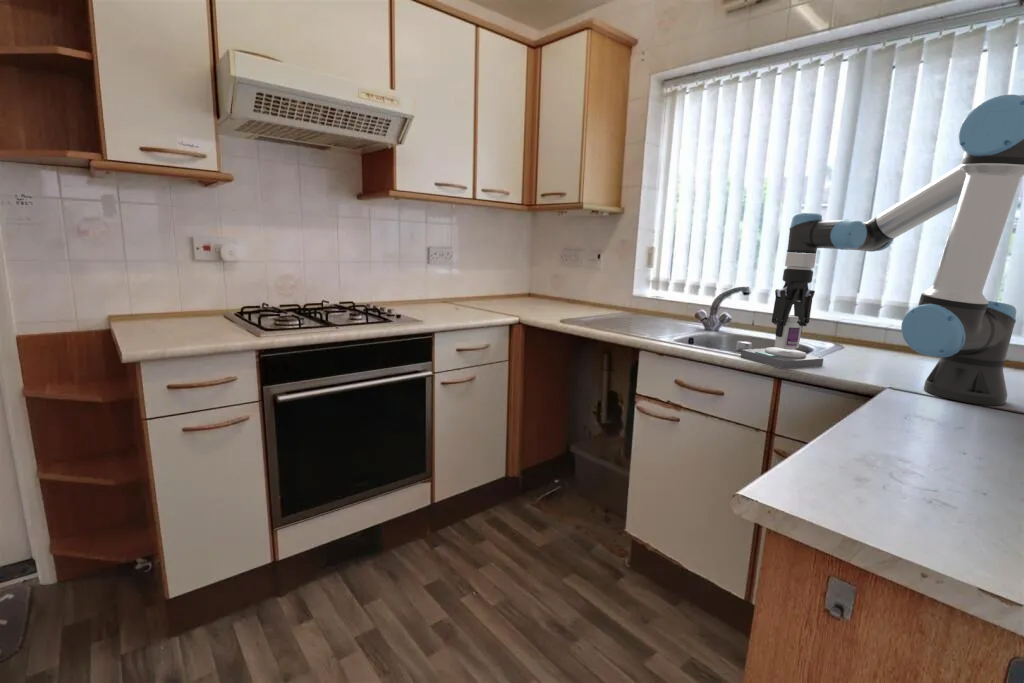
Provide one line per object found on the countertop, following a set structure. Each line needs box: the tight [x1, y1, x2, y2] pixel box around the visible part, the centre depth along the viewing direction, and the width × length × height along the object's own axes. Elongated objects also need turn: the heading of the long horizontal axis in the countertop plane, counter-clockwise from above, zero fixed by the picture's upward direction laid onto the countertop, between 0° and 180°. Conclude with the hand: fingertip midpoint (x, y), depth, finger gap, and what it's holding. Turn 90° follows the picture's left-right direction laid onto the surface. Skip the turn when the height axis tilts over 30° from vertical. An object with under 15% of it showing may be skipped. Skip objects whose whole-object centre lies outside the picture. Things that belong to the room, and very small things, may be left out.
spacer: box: [735, 340, 753, 353], centre depth 167 cm, size 4×4×3 cm
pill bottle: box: [784, 314, 800, 350], centre depth 154 cm, size 5×5×10 cm
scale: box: [740, 346, 824, 370], centre depth 155 cm, size 16×15×3 cm
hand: (786, 347), depth 155 cm, fingers closed on pill bottle, 5 cm apart
